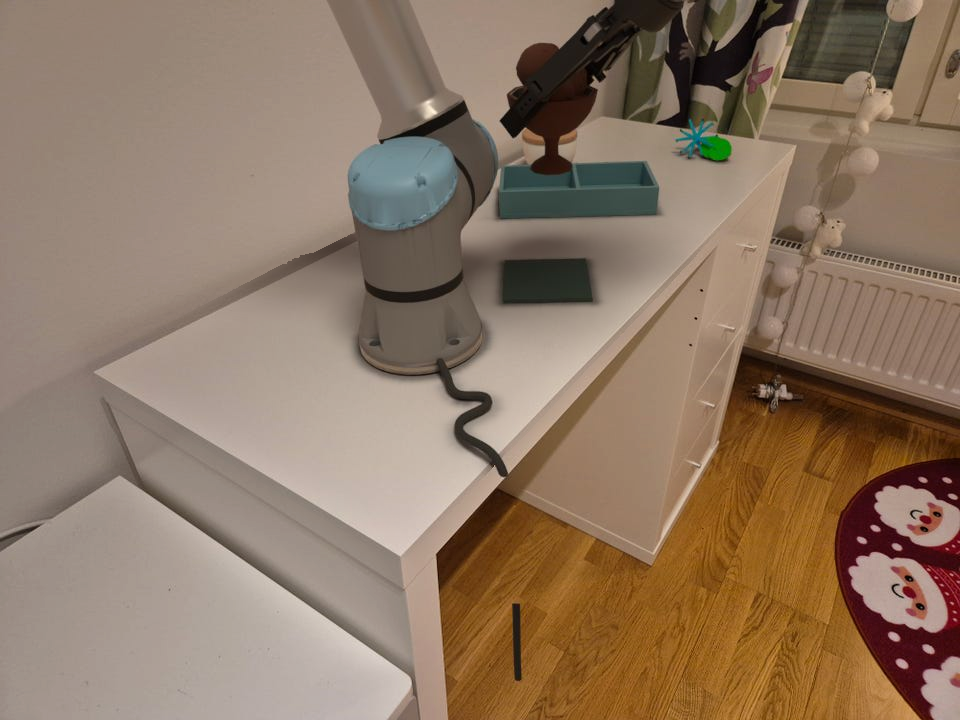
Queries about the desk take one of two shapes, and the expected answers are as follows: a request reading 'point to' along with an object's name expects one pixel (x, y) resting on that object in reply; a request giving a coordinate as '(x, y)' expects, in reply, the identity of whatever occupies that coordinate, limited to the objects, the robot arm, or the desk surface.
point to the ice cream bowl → (554, 108)
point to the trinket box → (536, 146)
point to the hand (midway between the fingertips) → (531, 117)
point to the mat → (546, 281)
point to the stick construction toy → (707, 143)
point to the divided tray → (579, 191)
